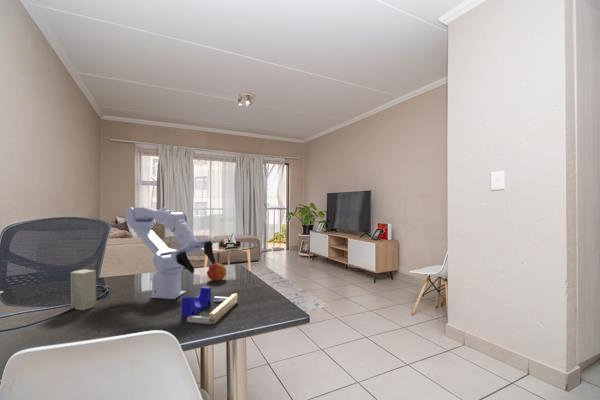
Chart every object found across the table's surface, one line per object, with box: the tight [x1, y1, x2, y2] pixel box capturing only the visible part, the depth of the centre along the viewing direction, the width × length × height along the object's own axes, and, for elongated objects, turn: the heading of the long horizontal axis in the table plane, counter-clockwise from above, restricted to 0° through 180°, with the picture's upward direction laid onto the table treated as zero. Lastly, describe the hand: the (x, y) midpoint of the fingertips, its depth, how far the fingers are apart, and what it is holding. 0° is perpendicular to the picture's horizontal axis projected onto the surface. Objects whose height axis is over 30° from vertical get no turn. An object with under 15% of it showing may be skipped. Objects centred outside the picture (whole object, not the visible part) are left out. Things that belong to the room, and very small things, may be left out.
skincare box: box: [70, 268, 97, 311], centre depth 93 cm, size 6×4×12 cm
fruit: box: [206, 262, 227, 282], centre depth 126 cm, size 8×8×8 cm
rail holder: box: [186, 293, 239, 325], centre depth 91 cm, size 8×18×3 cm, turn 171°
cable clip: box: [181, 286, 212, 318], centre depth 92 cm, size 12×4×6 cm, turn 168°
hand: (203, 266), depth 95 cm, fingers open, 7 cm apart
